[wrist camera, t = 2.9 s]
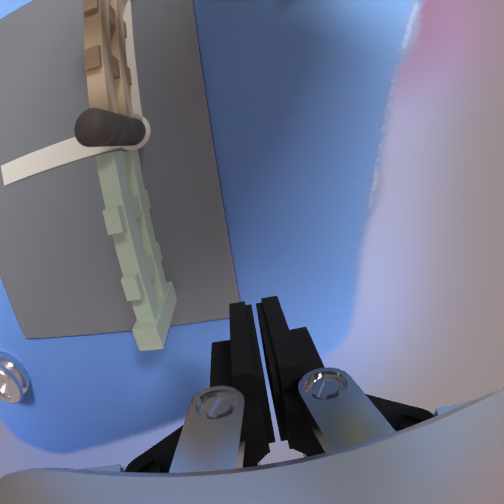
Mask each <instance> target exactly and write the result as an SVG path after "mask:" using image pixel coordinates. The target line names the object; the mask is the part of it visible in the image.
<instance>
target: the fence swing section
mask: <svg viewBox="0 0 504 504" xmlns="http://www.w3.org/2000/svg"><path fill="white" fill-rule="evenodd" d="M95 158H96V164H97V169H98V174H99V180H100V185H101V189H102V194H103V199H104V204H105V208H106V209H105V210H103V211H102V212H103V216H104V220H105V224H106V228H107V232H108V235H112V237H113V241H114V245H115V249H116V252H117V256H118V260H119V263H120V267H121V270H122V274H123V277H122V278H121V283H122V286H123V289H124V292H125V296H126V299H127V301H131V303H132V306H133V309H134V312H135V315H136V318H137V320H136V322H135V324H134V326H133V329H132V332H133V335H134V337H135V340H136V343H137V345H138V348H139V350H140V351H147V350H158V349H164V345H165V341H166V337H167V334H168V330H169V326H170V323H171V319H172V316H173V312H174V308H175V305H176V301H177V297H176V293H175V289H174V285H173V281H170V282H166V279H165V275H164V271H163V267H162V263H161V261H162V254H161V250H160V246H159V242H156V238H155V234H154V229H153V225H152V220H151V216H150V211H149V209H150V208H151V205H150V200H149V195H148V190H145V187H144V181H143V176H142V171H141V165H140V160H139V154H138V150H131V151H127V152H123V151H115V152H110V153H107V154H103V155H99V156H96V157H95Z"/></svg>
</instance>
